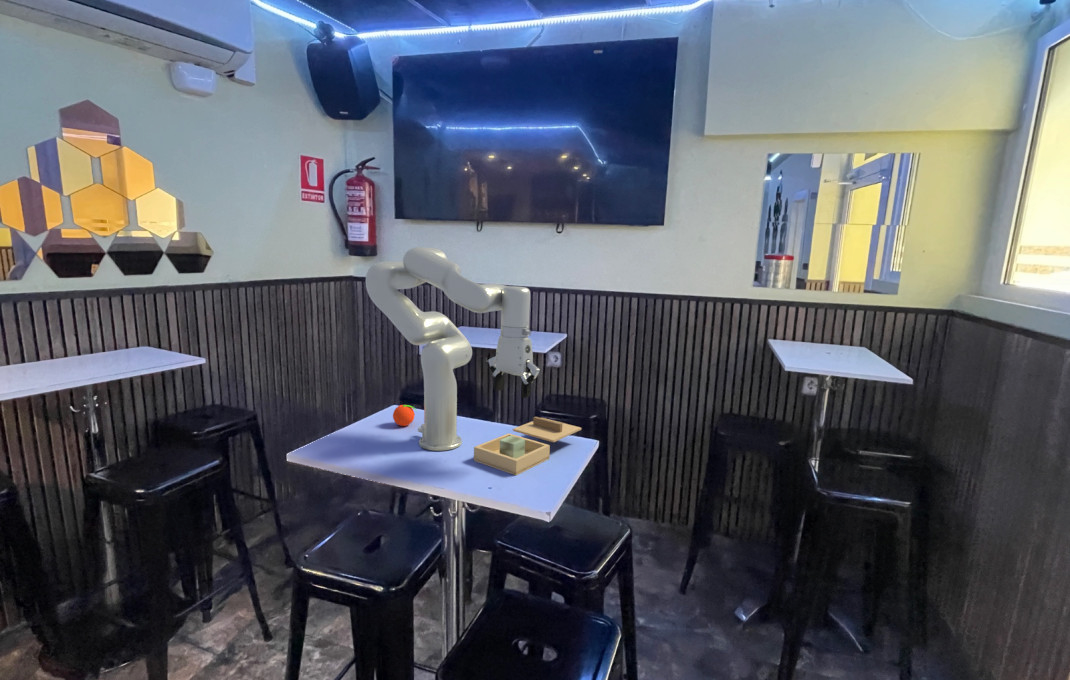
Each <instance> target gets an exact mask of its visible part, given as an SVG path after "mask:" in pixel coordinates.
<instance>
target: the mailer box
mask: <svg viewBox="0 0 1070 680" xmlns="http://www.w3.org/2000/svg"><path fill="white" fill-rule="evenodd" d="M509 436H514V437H518V438H521V439H524V440H525V455H523V456H521V457H519V458H516V459H515V458H512V457H509V456H506V455H503V454H500V440H502V439H504V438H507V437H509ZM550 446H551V445H550V444H547V443H543V442H540V441H537V440H533V439H529V438H526V437H524V436H520V435H515V434H512V433H509V432H508V433H506V434H504V435H501V436H499V437H496V438H494V439H490V440H489V441H486V442H483V443H481V444H477V445H475V446H474V447H473V461H475V462H476V463H480V464H482V465H485V466H488V467H491V468H494V469H496V470H500V471H503V472H505V473H507V474H511V475H514V476H517V475H520V474H522V473H524V472H526V471H528V470H529V469H532V468H534V467H535V466H537V465H540V464H542V463H544V462H546V461H548V460H549V459H550V453H551V451H550V450H551V449H550Z"/></svg>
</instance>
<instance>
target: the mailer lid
mask: <svg viewBox="0 0 1070 680" xmlns="http://www.w3.org/2000/svg"><path fill="white" fill-rule="evenodd" d="M532 420H533V421H530V422H527V423H525V424H522V425H520V426H517V427H514V428H512V431H513V432H516V433H520V434H522V435H525V436H529V437H533V438H536V439H539V440H540V439H541V440H544V441H546V442H550V443H555V442H558V441H560V440H562V439H564V438H567V437H569V436H571V435H573V434H575V433H578V432H579V431H582V427H580V426H576V425H572V424H568V423H565V422H562V421H557V420H553V419H548V418H545V417H539V416H534V417H533V418H532Z"/></svg>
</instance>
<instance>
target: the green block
mask: <svg viewBox="0 0 1070 680" xmlns="http://www.w3.org/2000/svg"><path fill="white" fill-rule="evenodd" d="M500 454H503V455H506V456H509V457H512V458H515V459H516V458H519V457H521V456H523V455H525V440H524V439H521V438H518V437H514V436H509V437H507V438H504V439H502V440H500Z"/></svg>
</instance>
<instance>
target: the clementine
mask: <svg viewBox="0 0 1070 680" xmlns="http://www.w3.org/2000/svg"><path fill="white" fill-rule="evenodd" d="M414 410H415V411H417V409H416V408H415V407H414V406H412V405H409V404H400V405H398V406H396V408H395V409H394V410H393V413H392V419H393V421H394V423H396V425H398V426H401V427H406V426H409V425H410V424H412V423H413V422H414V419H415V411H414Z"/></svg>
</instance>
